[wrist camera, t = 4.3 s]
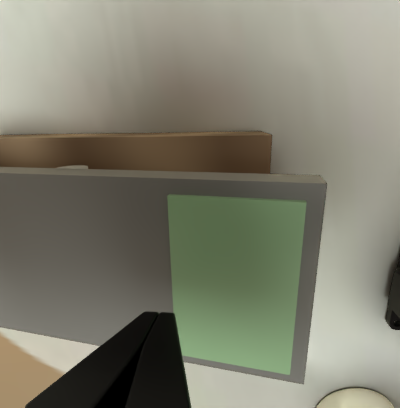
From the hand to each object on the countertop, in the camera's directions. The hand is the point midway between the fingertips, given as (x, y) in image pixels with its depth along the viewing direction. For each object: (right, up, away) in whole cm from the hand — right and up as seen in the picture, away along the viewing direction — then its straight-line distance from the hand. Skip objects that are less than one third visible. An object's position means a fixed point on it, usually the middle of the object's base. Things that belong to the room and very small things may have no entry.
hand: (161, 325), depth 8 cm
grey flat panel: (-4, +1, +4) cm, 6 cm away
